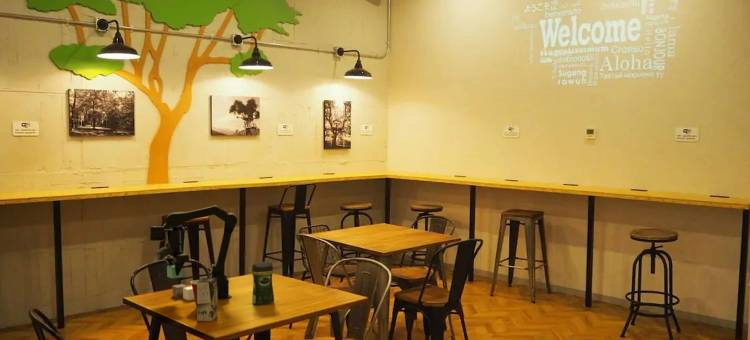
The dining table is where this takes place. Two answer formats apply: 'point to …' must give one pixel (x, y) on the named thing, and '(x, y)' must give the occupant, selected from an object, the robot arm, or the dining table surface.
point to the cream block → (188, 293)
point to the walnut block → (178, 290)
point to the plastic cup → (194, 290)
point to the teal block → (172, 272)
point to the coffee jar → (262, 283)
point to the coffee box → (207, 299)
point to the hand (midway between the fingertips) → (174, 274)
